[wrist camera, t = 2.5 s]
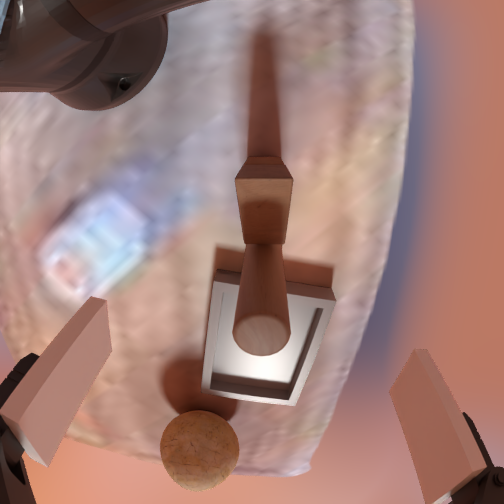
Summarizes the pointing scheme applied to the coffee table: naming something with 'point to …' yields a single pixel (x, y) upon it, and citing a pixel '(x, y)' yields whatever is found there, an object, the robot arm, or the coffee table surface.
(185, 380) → the coffee table surface
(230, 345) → the tray
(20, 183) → the coffee table surface
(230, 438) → the fossilized egg
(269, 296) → the brown wooden piece
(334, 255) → the coffee table surface
